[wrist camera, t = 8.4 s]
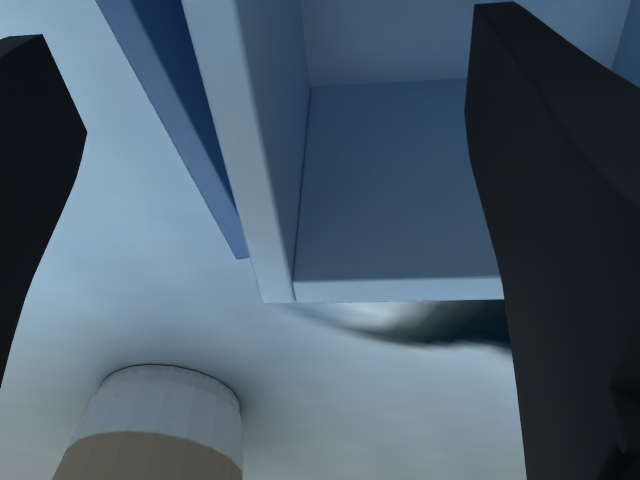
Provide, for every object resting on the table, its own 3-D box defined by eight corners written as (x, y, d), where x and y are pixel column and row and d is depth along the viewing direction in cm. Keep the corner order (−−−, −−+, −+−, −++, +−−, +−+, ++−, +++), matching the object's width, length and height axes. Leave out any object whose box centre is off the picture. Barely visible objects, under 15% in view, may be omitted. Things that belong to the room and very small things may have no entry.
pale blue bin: (288, 102, 17) (261, 305, 12) (231, -270, 11) (135, -161, 6) (627, 83, 16) (741, 295, 11) (759, -332, 10) (1110, -257, 5)
